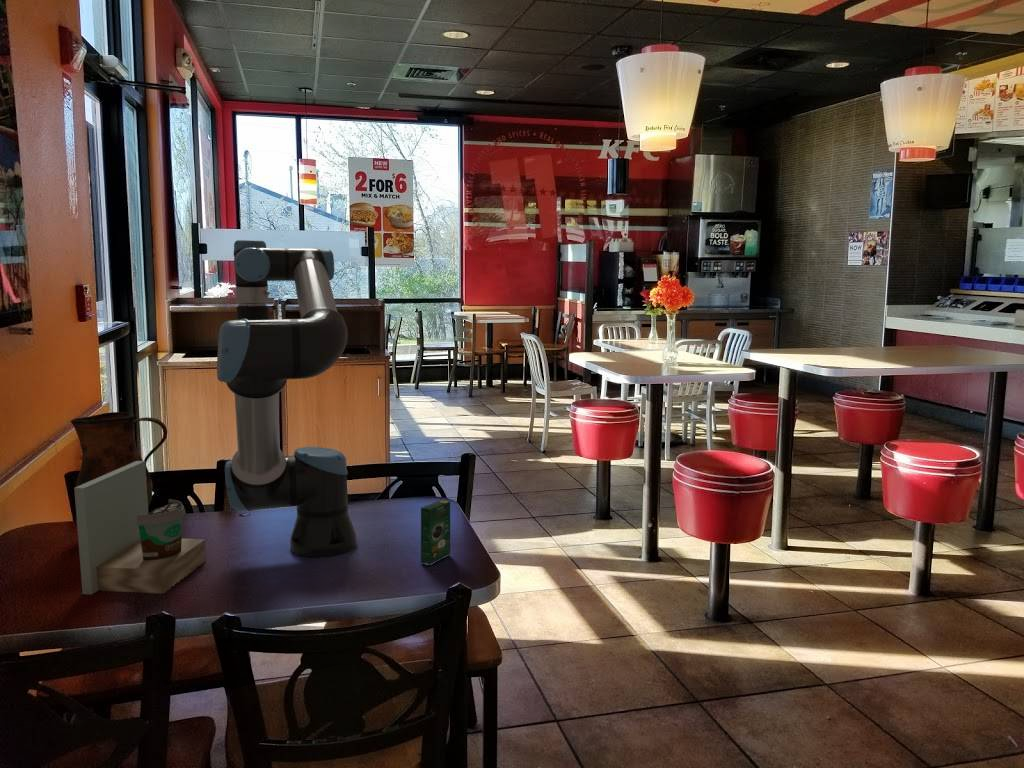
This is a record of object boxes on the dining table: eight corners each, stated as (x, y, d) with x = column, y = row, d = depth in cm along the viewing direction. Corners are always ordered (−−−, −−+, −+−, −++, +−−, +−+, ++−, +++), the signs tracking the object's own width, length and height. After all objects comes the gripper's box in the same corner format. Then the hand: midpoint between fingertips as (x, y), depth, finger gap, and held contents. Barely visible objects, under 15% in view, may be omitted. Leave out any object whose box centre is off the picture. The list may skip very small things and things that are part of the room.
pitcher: (89, 527, 200) (80, 410, 196) (180, 522, 205) (173, 407, 200) (67, 550, 184) (57, 423, 180) (166, 544, 189) (158, 419, 184)
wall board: (151, 555, 182) (145, 461, 178) (92, 594, 160) (83, 488, 157) (142, 554, 182) (136, 460, 178) (82, 594, 160) (74, 487, 157)
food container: (166, 564, 163) (163, 517, 161) (138, 562, 163) (135, 515, 162) (198, 543, 175) (196, 499, 173) (172, 542, 176) (170, 498, 174)
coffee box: (441, 553, 184) (441, 498, 182) (451, 555, 182) (451, 500, 180) (419, 564, 177) (419, 507, 175) (430, 567, 175) (429, 509, 173)
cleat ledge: (206, 560, 178) (204, 539, 178) (163, 593, 161) (162, 569, 160) (146, 558, 180) (145, 537, 179) (98, 590, 162) (96, 566, 161)
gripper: (245, 307, 181) (249, 399, 184) (286, 302, 205) (289, 384, 208) (214, 307, 181) (218, 399, 185) (258, 302, 206) (262, 383, 209)
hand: (256, 391), depth 197 cm, fingers open, 13 cm apart
